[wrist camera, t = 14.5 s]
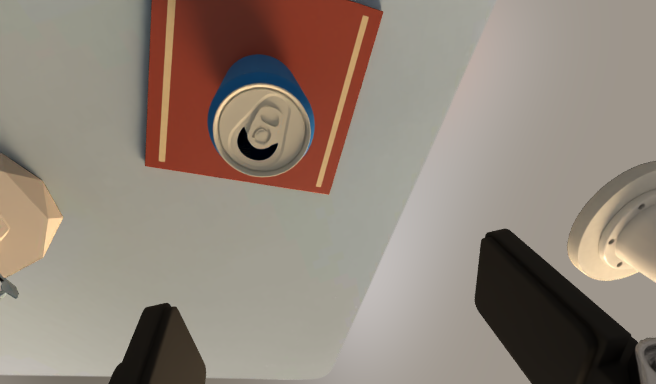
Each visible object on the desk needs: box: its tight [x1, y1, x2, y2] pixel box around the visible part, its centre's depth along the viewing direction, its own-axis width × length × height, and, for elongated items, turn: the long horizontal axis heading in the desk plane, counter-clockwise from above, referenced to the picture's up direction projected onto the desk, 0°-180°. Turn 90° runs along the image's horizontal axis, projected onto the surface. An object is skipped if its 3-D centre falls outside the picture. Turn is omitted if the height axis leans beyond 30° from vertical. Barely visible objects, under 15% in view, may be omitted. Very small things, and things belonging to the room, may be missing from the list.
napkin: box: [145, 0, 383, 195], centre depth 30 cm, size 18×18×1 cm
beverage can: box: [207, 54, 315, 177], centre depth 25 cm, size 6×6×12 cm
